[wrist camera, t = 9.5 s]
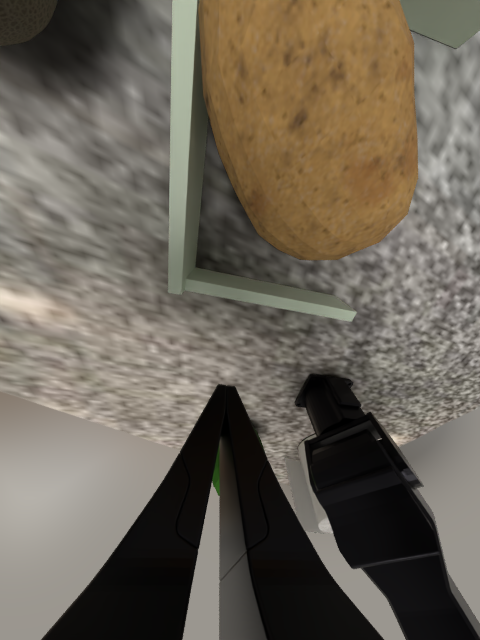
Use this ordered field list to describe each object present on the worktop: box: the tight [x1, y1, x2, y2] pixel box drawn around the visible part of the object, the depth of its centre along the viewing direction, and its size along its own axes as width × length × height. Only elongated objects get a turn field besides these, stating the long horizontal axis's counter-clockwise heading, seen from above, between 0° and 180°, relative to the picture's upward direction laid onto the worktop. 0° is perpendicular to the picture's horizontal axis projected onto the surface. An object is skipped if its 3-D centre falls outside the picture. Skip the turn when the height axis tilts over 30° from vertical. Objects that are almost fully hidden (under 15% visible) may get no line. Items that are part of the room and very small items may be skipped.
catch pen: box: [168, 0, 480, 322], centre depth 12 cm, size 19×16×5 cm
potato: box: [198, 0, 418, 260], centre depth 10 cm, size 10×14×8 cm
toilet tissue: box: [285, 434, 333, 534], centre depth 30 cm, size 11×12×10 cm
